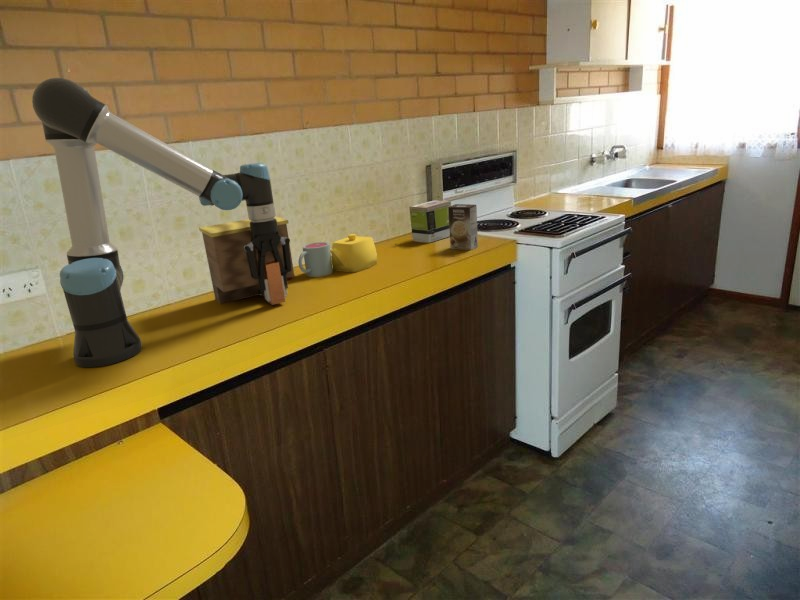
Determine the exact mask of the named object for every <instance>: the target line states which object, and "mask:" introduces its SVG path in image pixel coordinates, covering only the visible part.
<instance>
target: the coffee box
mask: <svg viewBox="0 0 800 600" xmlns="http://www.w3.org/2000/svg"><path fill="white" fill-rule="evenodd" d="M448 211H449V229H450V237H449V242H450V243H449V244H450V246H449V247H450V249H451V250H465V251H473V250H474V249H475V248H478V247H479V244H478V243H479V241H478V239H479V236H478V235H479V233H478V215H477V214H478V213H477V204H470V203H469V204H464V203H463V204H462V203H455V204H453V205H452V204H451V206H450V207H448Z"/></svg>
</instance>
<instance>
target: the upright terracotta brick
mask: <svg viewBox="0 0 800 600" xmlns="http://www.w3.org/2000/svg"><path fill="white" fill-rule="evenodd" d="M264 278H266V279H267V281H268V287H269V293H270V299H271V301H267V303H269V304H270V305H271V306H273V305H278V304H282V303H284V302H286V299H285V298H286V297H284V291H283V285H282V278H281V272H280V266H279V262H277V261H275V260H271V261H267V262H265V274H264ZM258 291H259V295H260V296H261V297H263V298H265V294H264V290H263V291H262V290H261V289H258Z"/></svg>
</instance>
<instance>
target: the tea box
mask: <svg viewBox="0 0 800 600" xmlns="http://www.w3.org/2000/svg"><path fill="white" fill-rule="evenodd" d="M450 206H452V201H451V200H435V199H434V200H431V201H427V202H423V203H418V204H416V205H415V204H414V205H411V206H409V207H408V208H409V216H410V226H411V237H412V241H413V242H418V243H425V244H429V243H433V242H434V243H435V242H436V241H440V240H442V239H443V240H444V239H446V238H450V229H449V211H448V207H450Z"/></svg>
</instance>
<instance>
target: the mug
mask: <svg viewBox="0 0 800 600" xmlns="http://www.w3.org/2000/svg"><path fill="white" fill-rule="evenodd" d="M330 250H331V247H330V243H329V242H326V241H318V242H310V243H306V244H304V245H302V253H301V254H300V256H299V257H298V268H299V269H300V271H301V272H303V273H305V274H306V276H307V277H311V278H316V277H317V278H318V277H325V276H329V275H331V274H333V272H334V268H333V265H332V253H331V252H330ZM303 258H304V259H303ZM303 261H304V266H305V268H304V267H303Z"/></svg>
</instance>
